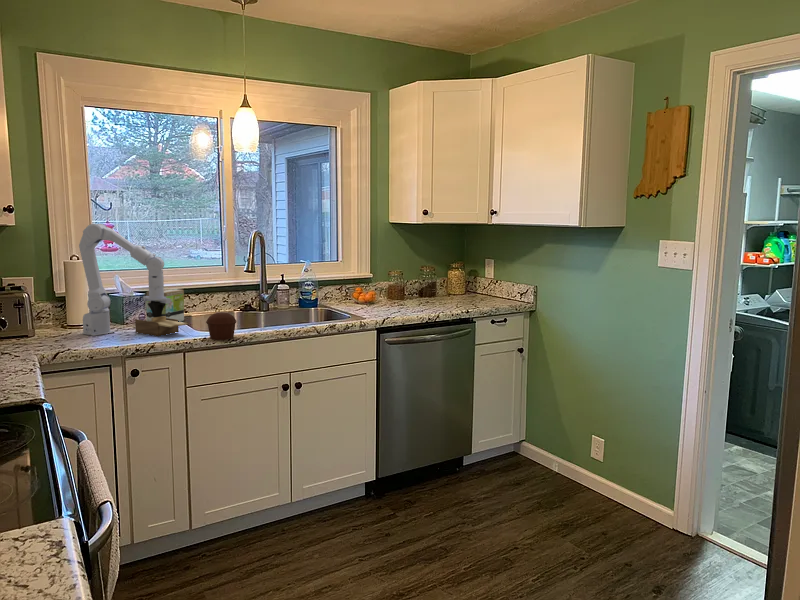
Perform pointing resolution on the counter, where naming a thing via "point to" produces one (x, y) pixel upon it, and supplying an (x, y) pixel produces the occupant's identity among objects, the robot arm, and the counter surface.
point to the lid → (167, 322)
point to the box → (154, 327)
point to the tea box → (170, 305)
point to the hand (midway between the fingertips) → (157, 319)
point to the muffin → (221, 326)
